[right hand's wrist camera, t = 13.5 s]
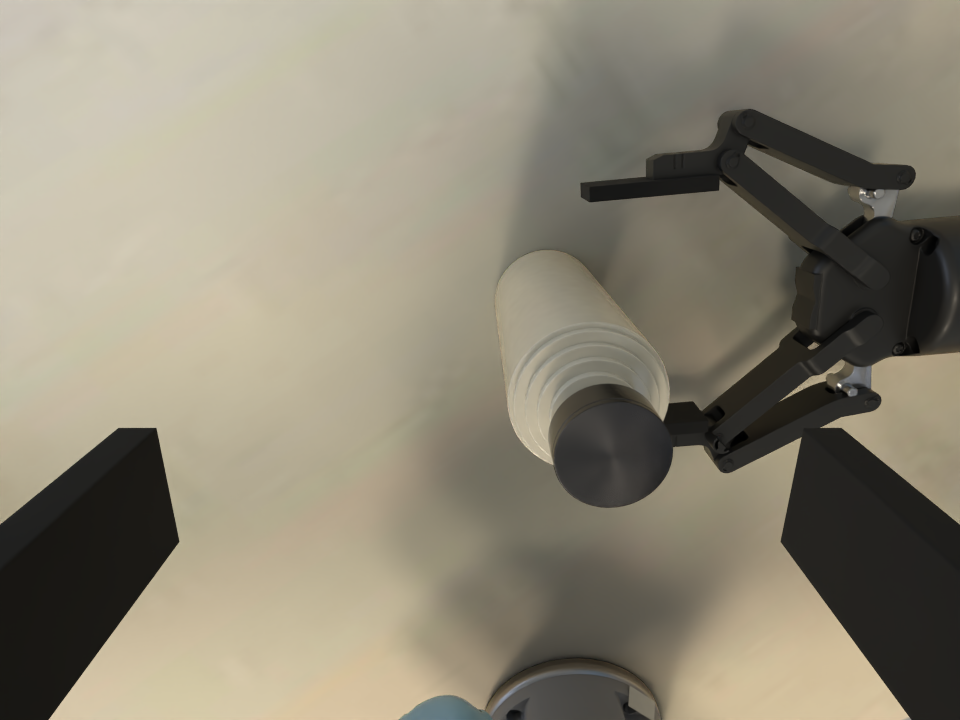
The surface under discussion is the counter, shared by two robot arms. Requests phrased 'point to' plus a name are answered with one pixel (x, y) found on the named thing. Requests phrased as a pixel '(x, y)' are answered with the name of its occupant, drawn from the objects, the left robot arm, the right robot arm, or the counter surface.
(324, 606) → the counter surface
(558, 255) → the bottle
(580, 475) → the cap
